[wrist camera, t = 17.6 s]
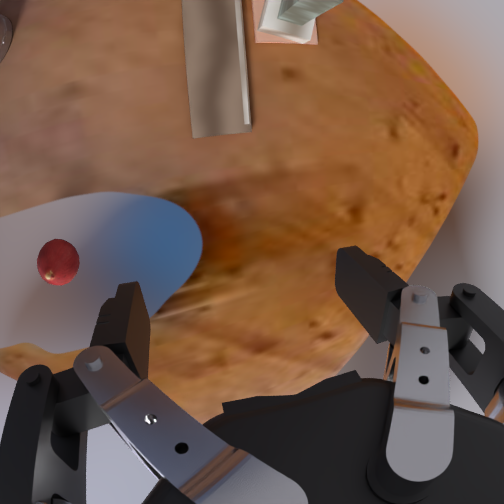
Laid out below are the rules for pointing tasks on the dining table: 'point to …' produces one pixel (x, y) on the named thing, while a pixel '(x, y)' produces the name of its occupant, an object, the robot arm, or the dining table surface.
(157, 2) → the dining table surface
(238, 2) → the grey-brown board
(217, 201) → the dining table surface
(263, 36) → the end pad
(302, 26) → the tall grey square pillar
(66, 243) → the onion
